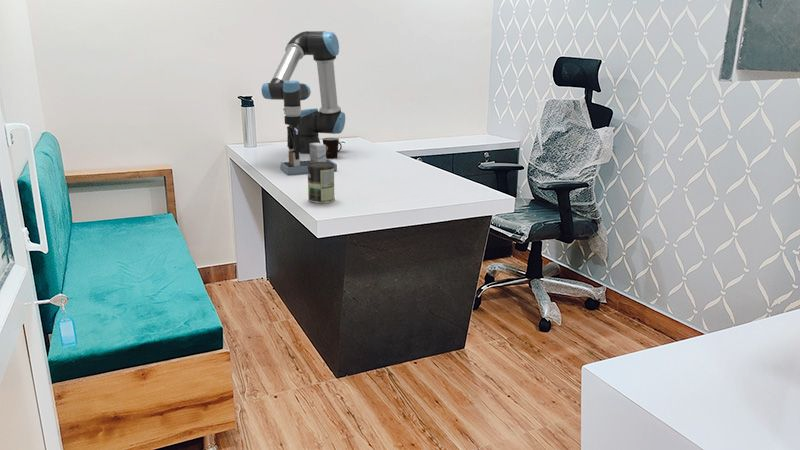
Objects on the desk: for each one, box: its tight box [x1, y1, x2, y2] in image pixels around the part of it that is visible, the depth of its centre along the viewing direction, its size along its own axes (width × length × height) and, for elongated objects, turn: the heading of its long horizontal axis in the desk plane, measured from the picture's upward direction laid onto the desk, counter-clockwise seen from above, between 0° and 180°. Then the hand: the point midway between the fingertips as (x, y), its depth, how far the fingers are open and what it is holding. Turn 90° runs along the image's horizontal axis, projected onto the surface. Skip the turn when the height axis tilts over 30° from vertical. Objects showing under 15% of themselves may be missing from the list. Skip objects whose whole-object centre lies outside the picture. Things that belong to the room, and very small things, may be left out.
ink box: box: [309, 142, 326, 163], centre depth 283 cm, size 9×5×12 cm, turn 33°
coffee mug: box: [322, 137, 343, 160], centre depth 312 cm, size 12×9×10 cm
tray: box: [280, 159, 338, 176], centre depth 282 cm, size 14×24×4 cm, turn 114°
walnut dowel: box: [288, 150, 301, 167], centre depth 279 cm, size 5×5×9 cm
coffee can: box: [307, 162, 335, 204], centre depth 229 cm, size 10×10×14 cm
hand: (294, 164), depth 279 cm, fingers open, 8 cm apart
